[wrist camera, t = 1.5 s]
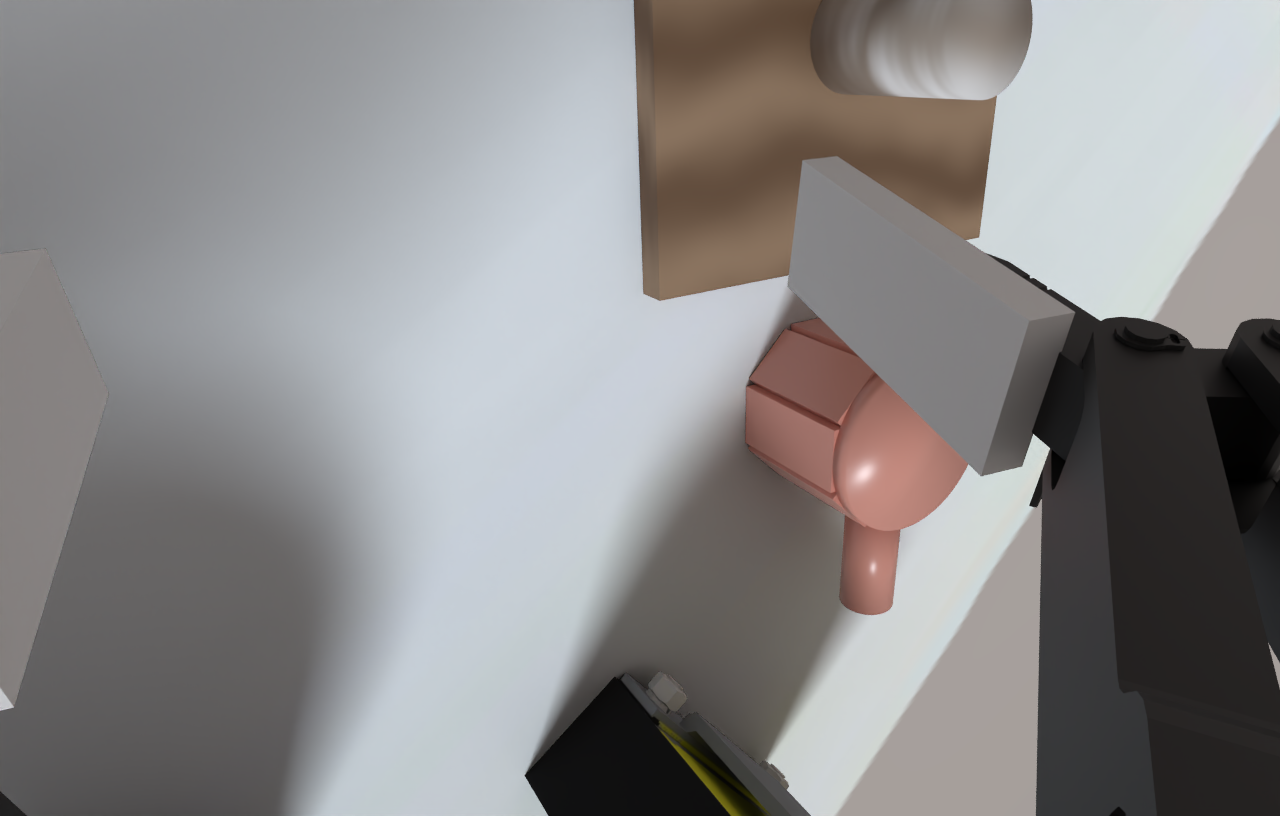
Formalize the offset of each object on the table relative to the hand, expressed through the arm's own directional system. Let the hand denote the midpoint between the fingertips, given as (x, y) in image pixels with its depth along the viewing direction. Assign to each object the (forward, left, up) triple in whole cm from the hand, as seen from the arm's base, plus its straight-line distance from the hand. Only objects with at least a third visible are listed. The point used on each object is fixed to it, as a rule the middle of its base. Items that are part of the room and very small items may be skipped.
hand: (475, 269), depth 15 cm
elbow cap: (-19, -26, -20) cm, 38 cm away
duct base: (+3, -26, -20) cm, 33 cm away
